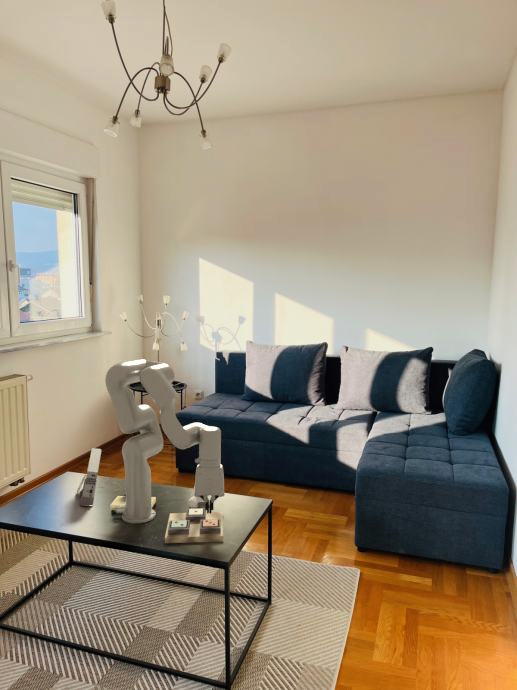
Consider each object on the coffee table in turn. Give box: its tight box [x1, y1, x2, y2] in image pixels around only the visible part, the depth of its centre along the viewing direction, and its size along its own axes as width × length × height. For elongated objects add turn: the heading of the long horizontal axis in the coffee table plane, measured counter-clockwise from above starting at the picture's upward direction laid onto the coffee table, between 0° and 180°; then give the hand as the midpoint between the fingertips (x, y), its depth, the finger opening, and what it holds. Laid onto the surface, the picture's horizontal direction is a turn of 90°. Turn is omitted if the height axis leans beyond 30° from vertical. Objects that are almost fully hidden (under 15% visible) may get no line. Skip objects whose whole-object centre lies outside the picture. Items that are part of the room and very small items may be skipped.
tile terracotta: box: [203, 519, 218, 528], centre depth 190 cm, size 5×5×2 cm
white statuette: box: [187, 485, 209, 509], centre depth 215 cm, size 6×8×12 cm
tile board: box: [164, 507, 224, 544], centre depth 194 cm, size 20×20×4 cm
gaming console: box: [75, 447, 102, 507], centre depth 221 cm, size 23×8×20 cm, turn 14°
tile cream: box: [188, 507, 204, 516], centre depth 199 cm, size 5×5×2 cm
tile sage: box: [171, 520, 187, 529], centre depth 189 cm, size 5×5×2 cm
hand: (209, 511), depth 189 cm, fingers closed
